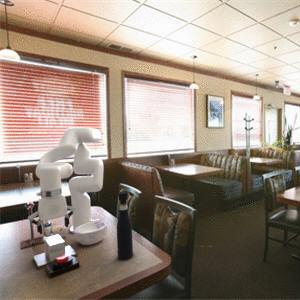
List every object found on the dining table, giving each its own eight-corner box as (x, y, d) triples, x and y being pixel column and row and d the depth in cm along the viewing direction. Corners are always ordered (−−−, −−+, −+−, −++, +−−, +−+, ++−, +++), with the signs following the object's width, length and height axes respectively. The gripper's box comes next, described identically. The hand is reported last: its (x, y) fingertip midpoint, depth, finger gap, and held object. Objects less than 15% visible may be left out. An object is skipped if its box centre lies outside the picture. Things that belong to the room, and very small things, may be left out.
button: (66, 257, 100) (66, 253, 100) (69, 260, 98) (69, 256, 97) (55, 260, 97) (55, 256, 97) (57, 264, 95) (57, 260, 95)
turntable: (69, 248, 116) (69, 245, 116) (76, 256, 108) (76, 253, 107) (33, 259, 105) (33, 256, 105) (38, 269, 97) (38, 266, 97)
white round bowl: (67, 245, 119) (66, 230, 118) (93, 233, 133) (92, 219, 132) (89, 250, 113) (88, 234, 113) (114, 237, 128) (113, 223, 127)
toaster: (65, 256, 105) (64, 241, 104) (50, 261, 101) (49, 245, 100) (59, 248, 112) (58, 234, 112) (45, 252, 108) (44, 237, 108)
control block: (73, 260, 104) (73, 252, 104) (79, 267, 99) (78, 258, 98) (46, 270, 97) (45, 261, 96) (50, 278, 91) (49, 268, 91)
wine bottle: (136, 254, 109) (133, 191, 107) (126, 261, 103) (123, 194, 101) (125, 252, 111) (122, 190, 109) (114, 259, 105) (111, 193, 103)
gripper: (27, 198, 96) (31, 239, 97) (76, 190, 108) (78, 226, 110) (25, 195, 101) (28, 233, 102) (71, 188, 113) (73, 222, 115)
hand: (54, 229), depth 106 cm, fingers open, 9 cm apart
